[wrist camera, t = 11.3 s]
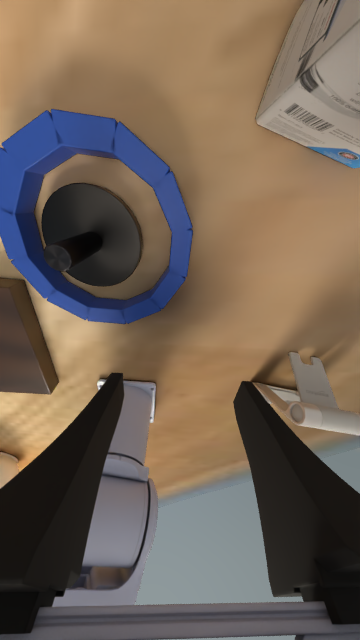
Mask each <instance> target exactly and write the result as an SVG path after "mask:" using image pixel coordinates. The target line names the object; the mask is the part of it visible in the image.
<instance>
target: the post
mask: <svg viewBox="0 0 360 640" xmlns="http://www.w3.org/2000/svg"><path fill="white" fill-rule="evenodd" d="M41 223H42V232H43V237H44V240H45V243H46V247H45V249H44V258H45V261H46V262H47V264H48V265H49V266H50V267H52V268H53V269H55V270H57V271H66V272H67V273H68V274H69V275H71V276H72V277H74V278H75V279H77V280H79V281H81V282H84V283H86V284H90V285H94V286H112V285H116V284H118V283H121V282H122V281H124V280H125V279H127V278H128V277H129V276H130V275H131V274H132V273H133V271H134V270H135V269H136V267H137V265H138V263H139V261H140V258H141V254H142V235H141V231H140V227H139V225H138V222H137V220H136V218H135V216H134V214H133V213H132V211H131V210H130V209H129V207H128V206H127V205H126V204H125V203H124V202H123V201H122V200H121V199H120V198H119V197H118V196H116V195H115V194H113V193H112V192H110V191H109V190H107V189H105V188H102V187H99V186H96V185H91V184H86V183H74V184H69V185H65V186H63V187H61V188H59V189H58V190H56V191H55V192H54V193H53V194H52V195H51V196H50V197H49V199H48V200H47V202H46V204H45V207H44V209H43V213H42V222H41Z"/></svg>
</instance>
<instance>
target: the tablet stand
mask: <svg viewBox="0 0 360 640" xmlns="http://www.w3.org/2000/svg"><path fill="white" fill-rule="evenodd" d="M288 355H289V359H290V363H291V366H292V370H293V374H294V378H295V382H296V386H297V390H298V391H297V390H295V391H294V390H289V389H284V388H279V387H274V386H269V385H264V384H262V383H257V382H256V383H255V382H252V383H253V384H254V385H255V387H256V388H257V389H258V390H259V392H260V393H261V394H262V395H263V397H264V398H265V399H266V401H267V402H268V403H270V404H271V403H273V404H274V405H275V406H276V407H277V408H278V409H279V410H280V411H281V412H282V413H283V414H284V415H285V416H287V417H288V418H289V419H290V420H291V421H292V422H293V423H294V424H296V425H300V426H306V427H312V428H318V429H324V430H330V431H336V432H341V433H347V434H353V435H359V436H360V413H355V412H350V411H345V410H340V409H339V408H338V406H337V403H336V400H335V398H334V395H333V392H332V389H331V387H330V384H329V381H328V378H327V376H326V373H325V370H324V367H323V364H322V361H321V360H320V359H319V358H316V357H310V358H311V364H312V365H308V364H304V363H302V361H301V359H300V356H299V354H298V353H295V352H289V354H288Z"/></svg>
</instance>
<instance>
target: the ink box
mask: <svg viewBox="0 0 360 640" xmlns="http://www.w3.org/2000/svg"><path fill="white" fill-rule="evenodd" d="M256 121H257V124H258V125H260V126H262V127H265V128H267V129H269V130H271V131H273V132H275V133H278V134H280V135H282V136H284V137H286V138H288V139H291V140H293V141H295V142H297V143H299V144H301V145H304V146H306V147H308V148H310V149H312V150H314V151H317V152H319V153H321V154H323V155H325V156H328V157H330V158H332V159H334V160H336V161H339V162H341V163H343V164H345V165H347V166H349V167H351V168H359V167H360V0H304V1H303V3H302V5H301V6H300V8H299V9H298V11H297V13H296V15H295V17H294V19H293V22H292V24H291V26H290V28H289V30H288V33H287V35H286V37H285V40H284V42H283V45H282V47H281V50H280V52H279V54H278V57H277V60H276V62H275V65H274V67H273V70H272V73H271V75H270V78H269V81H268V84H267V86H266V89H265V92H264V95H263V98H262V101H261V104H260V106H259V109H258V112H257V115H256Z"/></svg>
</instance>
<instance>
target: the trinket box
mask: <svg viewBox="0 0 360 640" xmlns="http://www.w3.org/2000/svg"><path fill="white" fill-rule="evenodd" d="M17 463H18V459H17V458H16V457H14V456H12V455H10V454H7V453H3V452H0V488H2V487H3V486H4V485H5V484H6V483H8V482H9V481H10V480H11V479H12V478H13V477H15V476H16V475H17V474H18V473H19V467H18V464H17Z"/></svg>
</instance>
